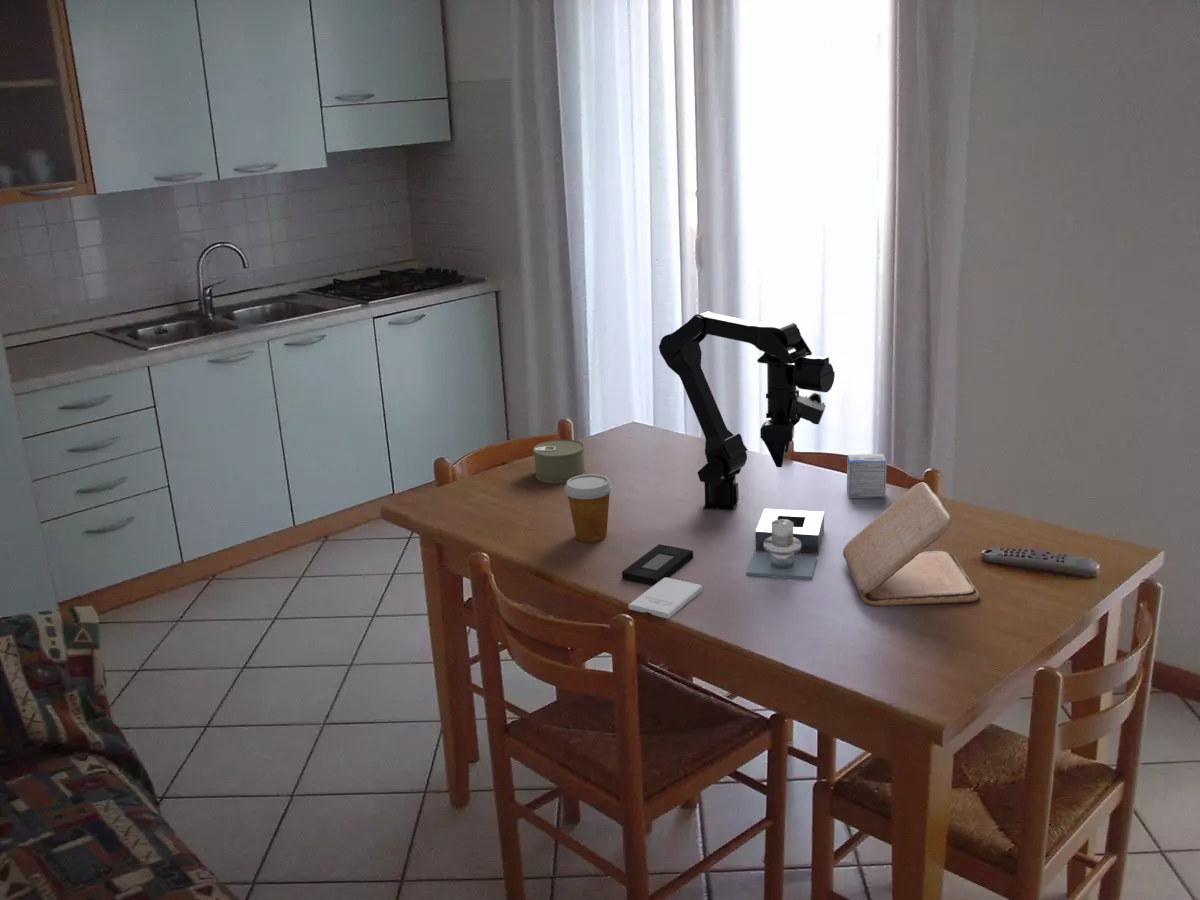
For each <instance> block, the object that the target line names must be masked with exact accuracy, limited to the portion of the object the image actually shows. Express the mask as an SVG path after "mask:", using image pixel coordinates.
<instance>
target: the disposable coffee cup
mask: <svg viewBox="0 0 1200 900" xmlns="http://www.w3.org/2000/svg"><path fill="white" fill-rule="evenodd" d="M565 484H566V485H565V486H564V491H565V493H566V495H567V499H568V503H569V508H570V513H571V518H572V524H573V529H574V534H575V539H576V540H577V541H579V542H583V543H596V542H600V541H602V540H604V539H605V538H607V535H608V534H607V533H608V521H609V520H608V519H609V511H610V510H609V509H610V507H609V506H610V495H611V494H610V492H611V490H612V488H613V486H612V483H611V482H610V479H609V478H608V477H607V476H606V475H602V474H594V473H588V474H586V473H585V475H579V476H575V477H572V478H570V479H569V480H568V481H567V482H566V483H565Z"/></svg>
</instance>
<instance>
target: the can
mask: <svg viewBox="0 0 1200 900" xmlns="http://www.w3.org/2000/svg"><path fill="white" fill-rule="evenodd" d="M532 452H533V455H534V468H535V469H534V470H535V478H536V479H537V480H538V481H539V482H544V483H548V484H567V481H568V480H569V479H570V478H572V477H575V476H579V475H586V471H585V470H586V469H585V445H584V444H583V443H582V442H581V441H578V440H573V439H553V440H547V441H543V442H541V443H538V444H536V445H535V446H534V447H533V448H532Z"/></svg>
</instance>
